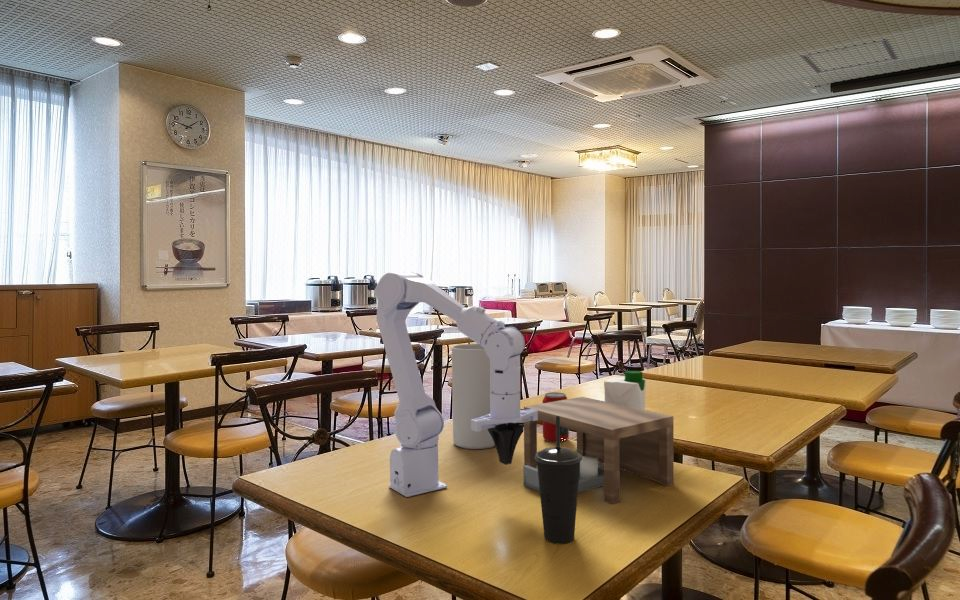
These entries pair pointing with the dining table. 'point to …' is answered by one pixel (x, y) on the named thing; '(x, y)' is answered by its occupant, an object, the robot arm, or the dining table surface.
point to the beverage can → (550, 428)
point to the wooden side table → (611, 439)
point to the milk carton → (626, 390)
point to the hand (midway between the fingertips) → (505, 462)
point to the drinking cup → (558, 489)
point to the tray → (588, 475)
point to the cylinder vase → (470, 395)
